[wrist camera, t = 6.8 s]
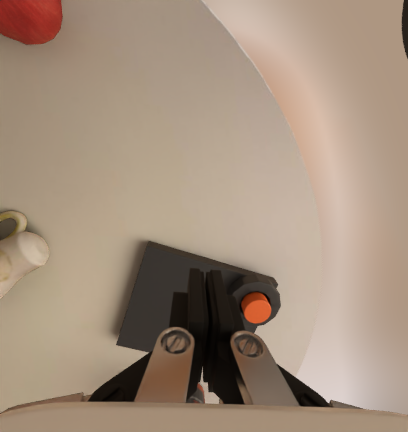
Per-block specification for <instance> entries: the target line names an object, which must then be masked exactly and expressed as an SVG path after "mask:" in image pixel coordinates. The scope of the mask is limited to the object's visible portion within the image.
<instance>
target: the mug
mask: <svg viewBox="0 0 408 432" xmlns="http://www.w3.org/2000/svg"><path fill="white" fill-rule="evenodd" d="M7 218H12V219H14V220H15V221H16V228H15V230H14V231H13V232H12V233H11V234H10V235H9V236H7V237H6V238H5V239H3V240H0V299H1V298H2V297H3V296H4V295H5V294H6V293H7V292H8V291H9V290H10V289H11V288H12V287H13V286H14V285H15V284H16V282H17V281H19V280H20V279H21V278H22V277H23V276H24V275H26V274H27V273H29V272H31V271H33V270H35V269H37V268H39V267H41V266H43V265H44V264H45V263H46V261H47V259H48V256H49V248H48V245H47V244H46V242H45V241H44V239H43V238H41V237H40V236H38V235H36V234H34V233H30V232H24V231H25V229H26V226H27V219H26V217H25V216H24V215H23V214H21V213H19V212H15V211H7V212H3V213H1V214H0V222H2V221H3V220H5V219H7Z"/></svg>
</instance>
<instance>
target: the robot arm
mask: <svg viewBox="0 0 408 432" xmlns="http://www.w3.org/2000/svg"><path fill="white" fill-rule="evenodd" d="M202 366H203V381H204V382H208V390H209V392H214V393H215V394H216V395H217V396H218V397H219V398H220V399H219V404H199V403H187V400H188V399H189V398H190V397H191V396H192V395H193V394H194V393H195V392H196V391H197V386H198V382H200V380H201V373H202ZM0 432H408V415H404V414H399V413H393V412H386V411H376V410H366V409H363V408H359V407H355V406H352V405H348V404H344V403H340V402H337V401H333V400H331V401H330V403H327V402H326V400H325V399H324V398H323V397H321V396H320V395H319V394H318V393H316V392H315V391H314V390H312V389H311V388H310V387H308V386H307V385H305V384H304V383H303V382H301V381H300V380H298V379H297V378H296V377H294V376H293V375H291V374H290V373H289V372H287V371H286V370H285V369H283V368H282V367H280V366H279V365H278V364H276V362H275V360H274V359H273V357H272V355H271V353H270V351H269V350H268V348H267V346H266V344H265V343H264V341H263V340H262V339H261V338H260V337H259V336H258V335H256V334H254V333H252V332H249V331H246V330H245V326H244V323H243V320H242V317H241V313H240V310H239V307H238V304H237V300H236V297H235V296H230V295H227V293H226V289H225V285H224V281H223V277H222V273H221V270H210V272H206V278H205V280H204V272H202V271H200V269H198V268H190V271H189V279H188V288H187V292H173V299H172V307H171V315H170V322H169V328H168V329H166V330H164V331H163V332H162V333H160V335H159V337H158V339H157V341H156V344H155V347H154V349H153V351H151V352H150V353H148V354H147V355H145V356H144V357H142V358H141V359H140V360H138V361H137V362H135V363H134V364H132V365H131V366H129V367H128V368H126V369H125V370H124V371H122V372H121V373H119V374H118V375H116V376H115V377H113V378H112V379H110V380H109V381H108V382H106V383H105V384H103V385H102V386H100V387H99V388H98V389H97V390H96V391H95V392H94V393H93V394H92V395H87V396H83V392H82V393H77V394H72V395H67V396H62V397H57V398H52V399H47V400H42V401H36V402H31V403H26V404H21V405H17V406H14V407H11V408H8V409H7V410H5V411H3V412H2V413H0Z"/></svg>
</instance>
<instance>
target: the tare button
mask: <svg viewBox="0 0 408 432" xmlns="http://www.w3.org/2000/svg"><path fill="white" fill-rule="evenodd" d="M241 307H242V310H243V313H244V316H245V318H246V319H247V320H248V321H249V322H251V323H261V322H264V321H265V320H267V319H268V318H269V316H270V314H271V306H270V304H269V303H268V301H267V299H266V297H265V296H264V295H263V294H261V293H259V292H252V293H249V294H247V295H246V296H245V297H244V298H243V299H242V302H241Z"/></svg>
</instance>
